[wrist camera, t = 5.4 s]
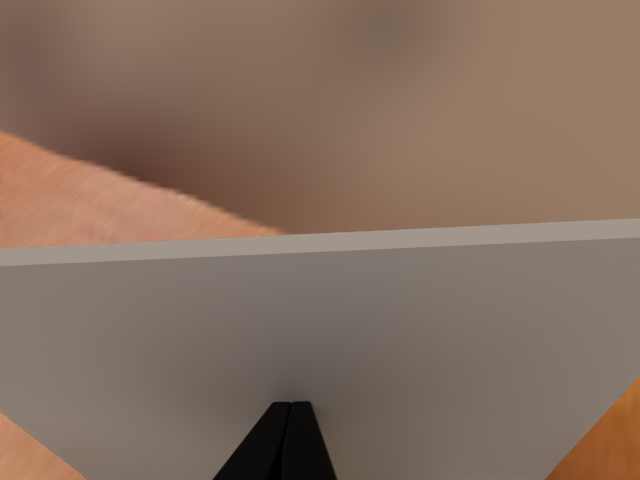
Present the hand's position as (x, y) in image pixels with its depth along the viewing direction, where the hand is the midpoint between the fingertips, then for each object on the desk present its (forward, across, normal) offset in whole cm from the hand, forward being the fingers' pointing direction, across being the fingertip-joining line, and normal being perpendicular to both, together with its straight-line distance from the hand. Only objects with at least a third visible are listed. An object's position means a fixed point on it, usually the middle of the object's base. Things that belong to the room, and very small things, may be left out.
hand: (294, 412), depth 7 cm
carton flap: (0, 0, 0) cm, 0 cm away
